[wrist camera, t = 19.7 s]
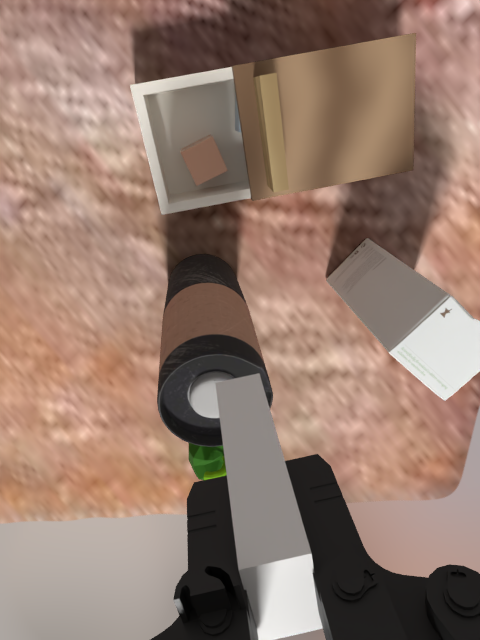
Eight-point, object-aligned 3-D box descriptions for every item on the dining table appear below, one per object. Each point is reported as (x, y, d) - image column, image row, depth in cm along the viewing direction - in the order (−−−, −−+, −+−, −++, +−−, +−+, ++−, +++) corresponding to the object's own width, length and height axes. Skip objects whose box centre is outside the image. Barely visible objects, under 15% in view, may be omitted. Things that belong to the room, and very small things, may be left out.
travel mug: (155, 305, 46) (138, 432, 29) (181, 239, 44) (181, 335, 26) (221, 328, 49) (244, 460, 31) (251, 267, 46) (294, 373, 28)
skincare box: (323, 278, 47) (382, 351, 34) (369, 232, 46) (451, 289, 32) (372, 322, 51) (443, 406, 37) (416, 280, 49) (509, 352, 35)
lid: (251, 199, 38) (257, 208, 35) (231, 66, 33) (237, 62, 30) (409, 168, 38) (430, 175, 35) (411, 34, 34) (436, 26, 30)
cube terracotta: (195, 180, 41) (196, 185, 38) (180, 148, 40) (180, 152, 37) (224, 165, 41) (227, 170, 38) (210, 133, 39) (212, 136, 37)
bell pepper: (265, 394, 53) (282, 453, 44) (244, 445, 57) (255, 510, 48) (198, 380, 51) (201, 439, 42) (180, 434, 55) (179, 499, 46)
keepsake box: (163, 204, 42) (161, 214, 38) (135, 86, 37) (130, 85, 33) (307, 176, 42) (320, 184, 38) (296, 57, 38) (310, 52, 34)
